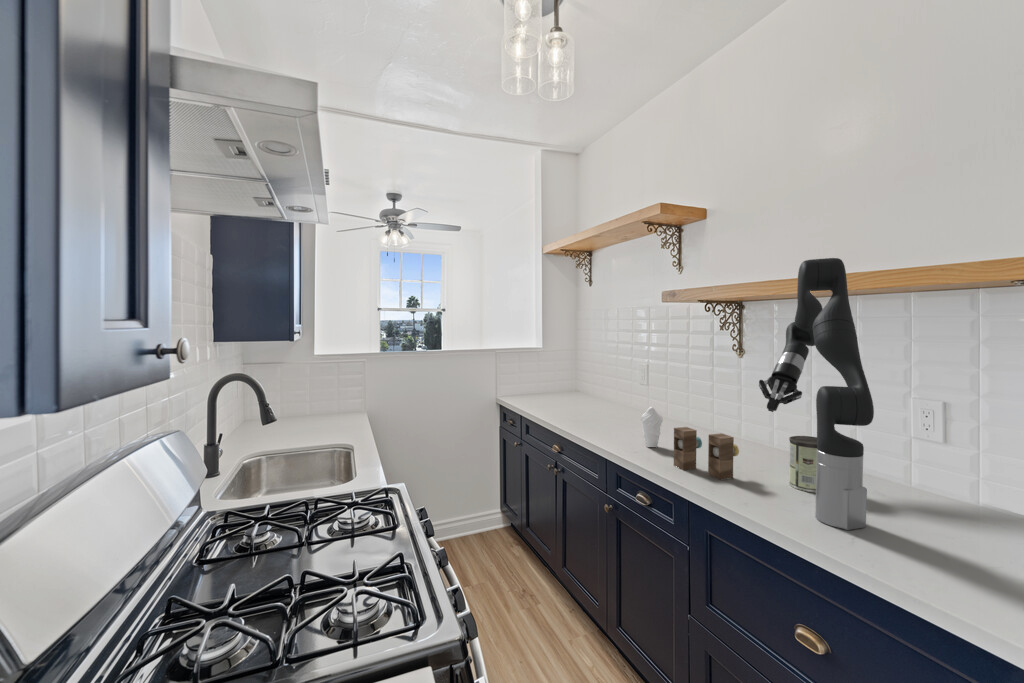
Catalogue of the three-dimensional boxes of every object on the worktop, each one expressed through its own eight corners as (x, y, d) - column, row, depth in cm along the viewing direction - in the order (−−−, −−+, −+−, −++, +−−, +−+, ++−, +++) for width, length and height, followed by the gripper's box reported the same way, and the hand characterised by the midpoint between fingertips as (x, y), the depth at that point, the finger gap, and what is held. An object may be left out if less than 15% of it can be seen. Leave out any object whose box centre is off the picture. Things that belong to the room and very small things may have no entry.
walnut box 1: (696, 468, 151) (696, 430, 150) (683, 470, 149) (683, 431, 149) (686, 464, 156) (686, 426, 155) (673, 465, 154) (673, 427, 154)
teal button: (701, 449, 152) (702, 438, 152) (684, 451, 150) (684, 439, 150) (694, 446, 156) (694, 435, 155) (677, 448, 154) (677, 437, 153)
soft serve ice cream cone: (644, 442, 183) (645, 403, 183) (665, 445, 178) (665, 405, 178) (637, 447, 177) (637, 406, 176) (658, 450, 172) (659, 409, 171)
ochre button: (738, 457, 143) (739, 445, 143) (720, 459, 141) (720, 447, 141) (729, 454, 146) (730, 442, 146) (711, 456, 144) (712, 444, 144)
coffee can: (819, 481, 138) (820, 436, 137) (836, 494, 128) (838, 445, 127) (782, 479, 140) (783, 434, 139) (796, 491, 130) (797, 443, 129)
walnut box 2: (733, 478, 142) (733, 437, 141) (719, 479, 140) (720, 438, 140) (721, 472, 147) (721, 433, 146) (708, 474, 145) (708, 434, 145)
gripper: (767, 356, 150) (748, 396, 143) (813, 368, 142) (795, 411, 135) (765, 370, 155) (747, 409, 148) (809, 382, 147) (793, 424, 140)
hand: (770, 410), depth 142 cm, fingers closed
